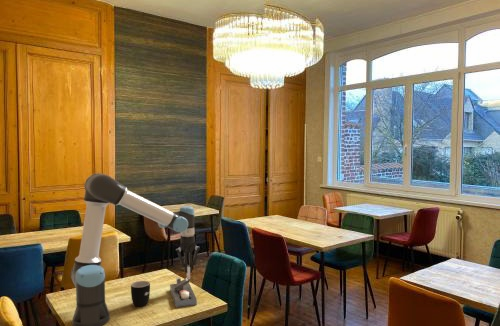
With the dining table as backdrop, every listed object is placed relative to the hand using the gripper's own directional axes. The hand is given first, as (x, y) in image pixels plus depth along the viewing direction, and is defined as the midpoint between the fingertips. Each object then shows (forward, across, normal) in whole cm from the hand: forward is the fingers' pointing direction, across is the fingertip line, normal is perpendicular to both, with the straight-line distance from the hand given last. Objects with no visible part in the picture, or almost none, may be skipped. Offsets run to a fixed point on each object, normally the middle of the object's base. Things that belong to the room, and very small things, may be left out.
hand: (188, 278), depth 203 cm
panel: (+6, -5, -11) cm, 13 cm away
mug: (+6, -25, -12) cm, 28 cm away
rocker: (0, -5, -7) cm, 9 cm away
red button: (+5, -5, -13) cm, 15 cm away
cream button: (+3, -5, -19) cm, 20 cm away
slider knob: (+2, -5, 0) cm, 6 cm away
